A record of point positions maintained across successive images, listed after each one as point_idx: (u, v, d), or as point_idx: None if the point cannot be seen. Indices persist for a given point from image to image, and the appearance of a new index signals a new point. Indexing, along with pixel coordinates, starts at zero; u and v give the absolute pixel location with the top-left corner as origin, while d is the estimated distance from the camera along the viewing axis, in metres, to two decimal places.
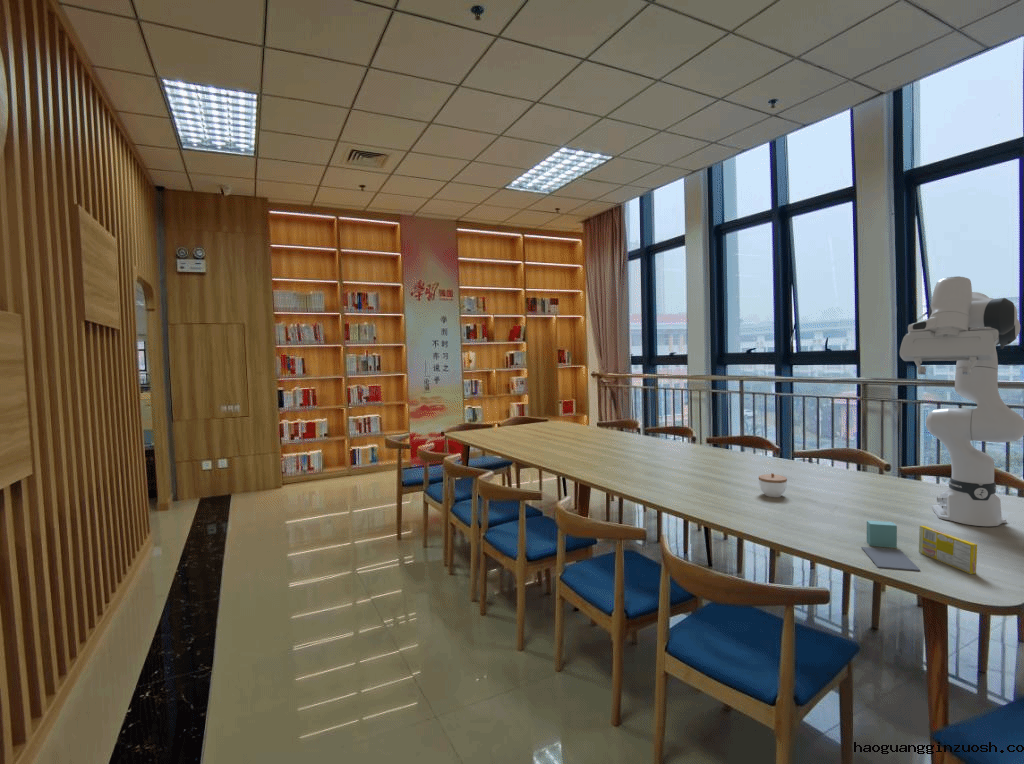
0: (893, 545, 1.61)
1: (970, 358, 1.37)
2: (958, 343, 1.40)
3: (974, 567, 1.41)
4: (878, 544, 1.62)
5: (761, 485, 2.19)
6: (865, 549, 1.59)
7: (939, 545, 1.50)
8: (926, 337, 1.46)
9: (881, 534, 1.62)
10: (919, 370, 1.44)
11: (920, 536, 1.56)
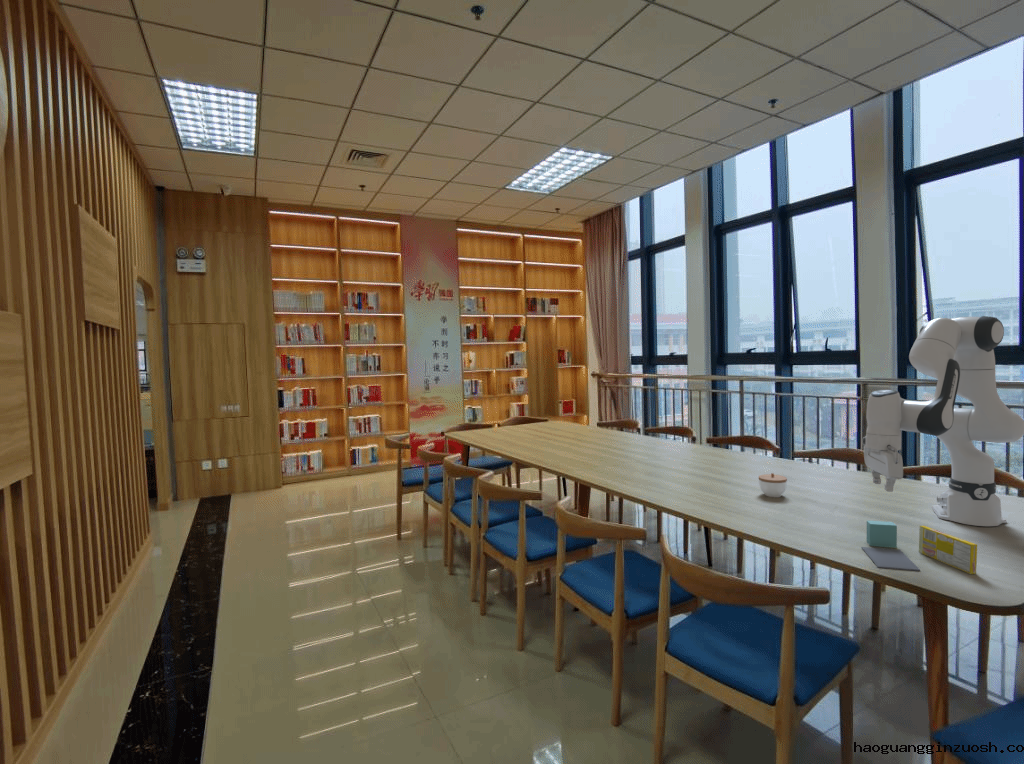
0: (893, 545, 1.61)
1: None
2: (879, 462, 1.59)
3: (974, 567, 1.41)
4: (878, 544, 1.62)
5: (761, 485, 2.19)
6: (865, 549, 1.59)
7: (939, 545, 1.50)
8: (871, 451, 1.65)
9: (881, 534, 1.62)
10: (873, 481, 1.66)
11: (920, 536, 1.56)
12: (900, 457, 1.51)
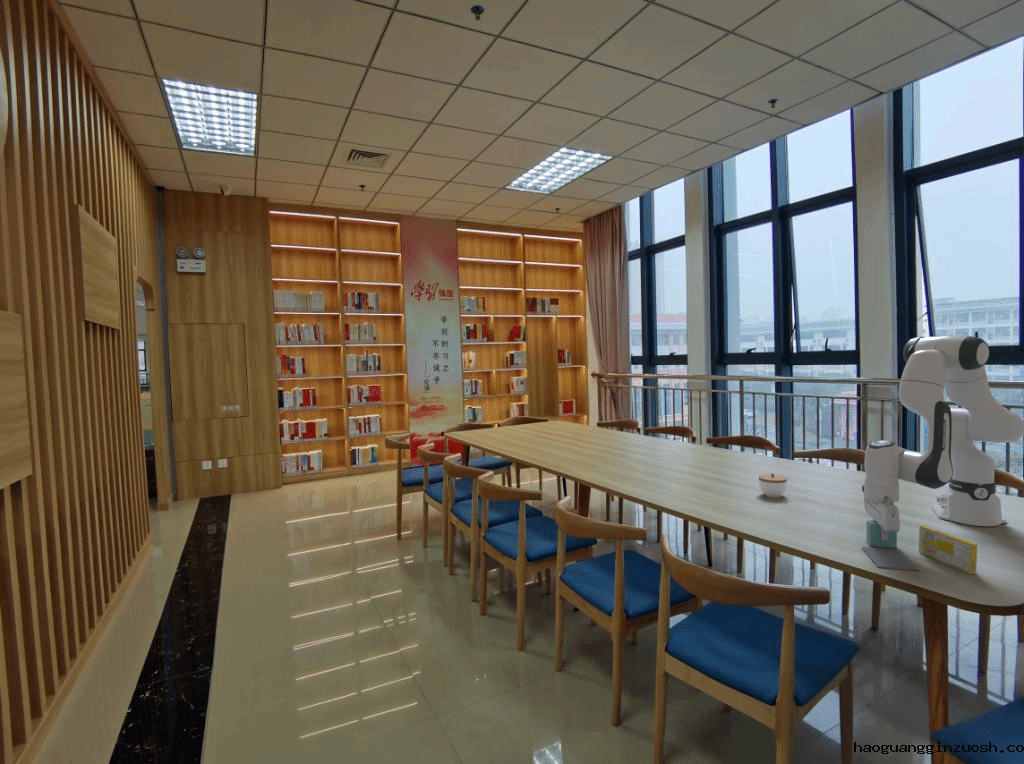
0: (893, 545, 1.61)
1: None
2: (877, 512, 1.61)
3: (974, 567, 1.41)
4: (878, 544, 1.62)
5: (761, 485, 2.19)
6: (865, 549, 1.59)
7: (939, 545, 1.50)
8: None
9: None
10: None
11: (920, 536, 1.56)
12: (897, 510, 1.53)
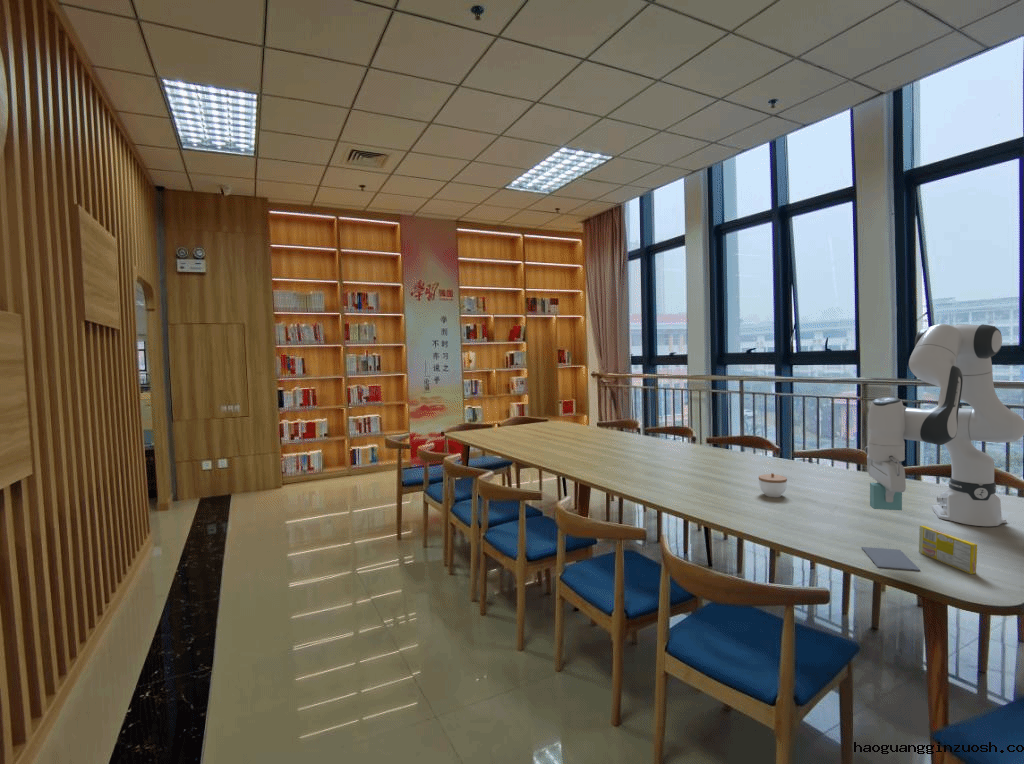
0: (898, 507, 1.52)
1: (885, 488, 1.51)
2: (881, 473, 1.52)
3: (974, 567, 1.41)
4: (882, 507, 1.53)
5: (761, 485, 2.19)
6: (865, 549, 1.59)
7: (939, 545, 1.50)
8: None
9: None
10: None
11: (920, 536, 1.56)
12: (902, 469, 1.45)
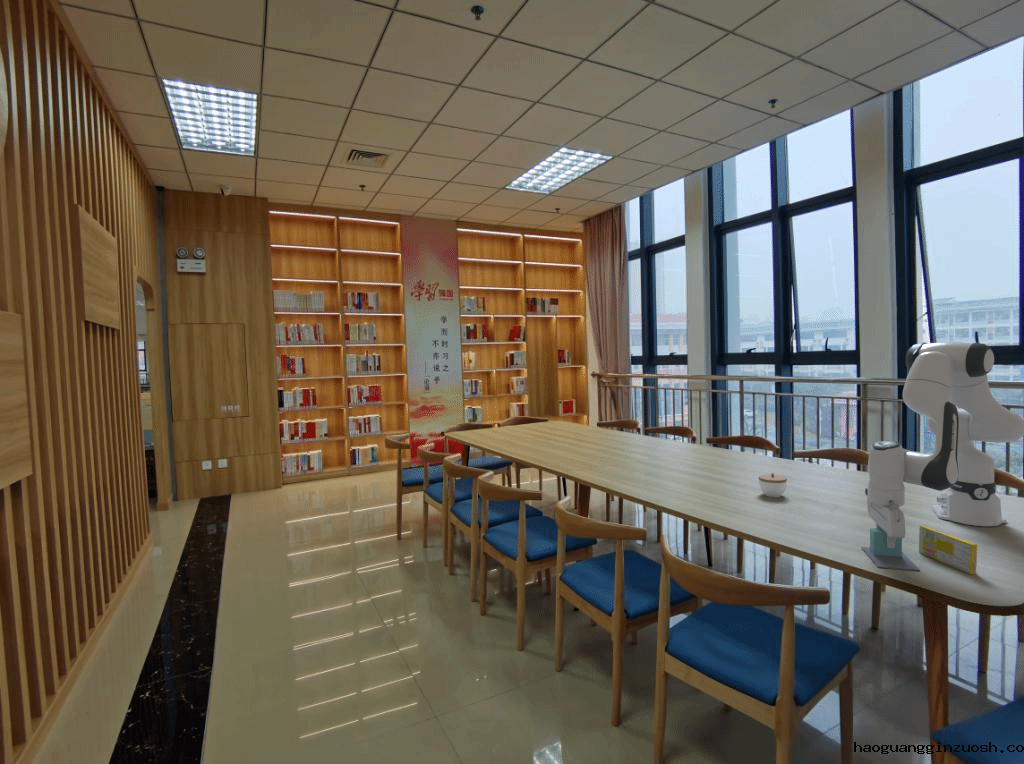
0: (898, 554, 1.53)
1: None
2: (881, 517, 1.53)
3: (974, 567, 1.41)
4: (882, 553, 1.54)
5: (761, 485, 2.19)
6: (865, 549, 1.59)
7: (939, 545, 1.50)
8: None
9: (885, 542, 1.54)
10: None
11: (920, 536, 1.56)
12: (902, 515, 1.45)
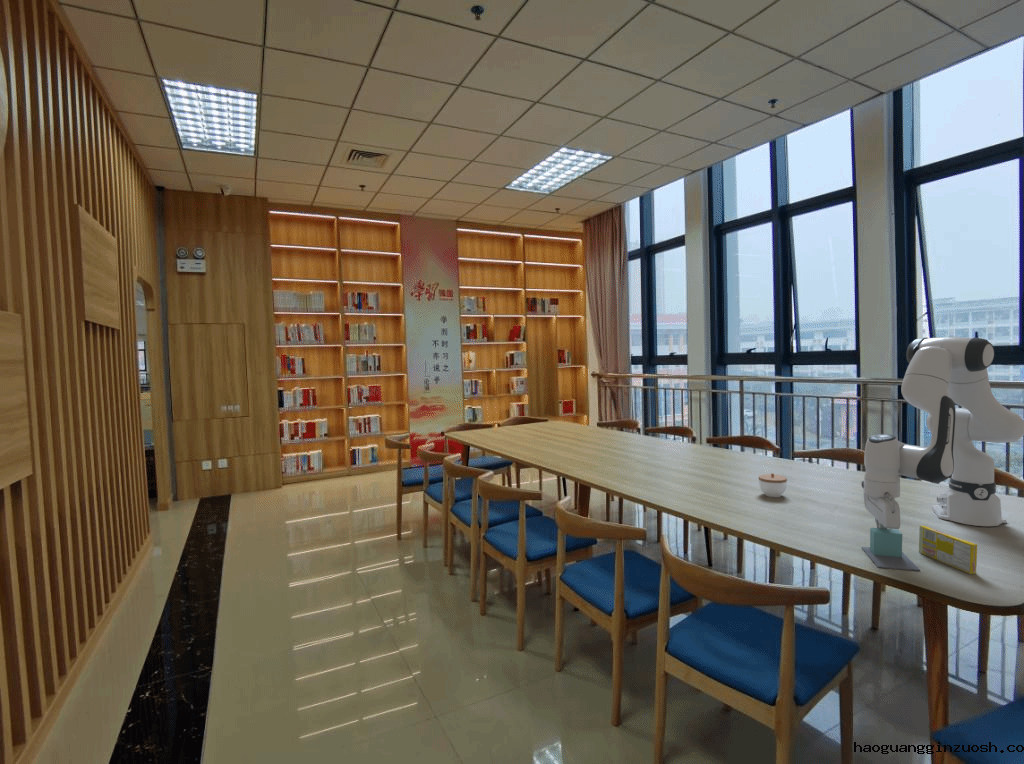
0: (898, 554, 1.53)
1: (878, 521, 1.57)
2: (877, 509, 1.55)
3: (974, 567, 1.41)
4: (882, 553, 1.54)
5: (761, 485, 2.19)
6: (865, 549, 1.59)
7: (939, 545, 1.50)
8: None
9: (885, 542, 1.53)
10: None
11: (920, 536, 1.56)
12: (897, 506, 1.48)
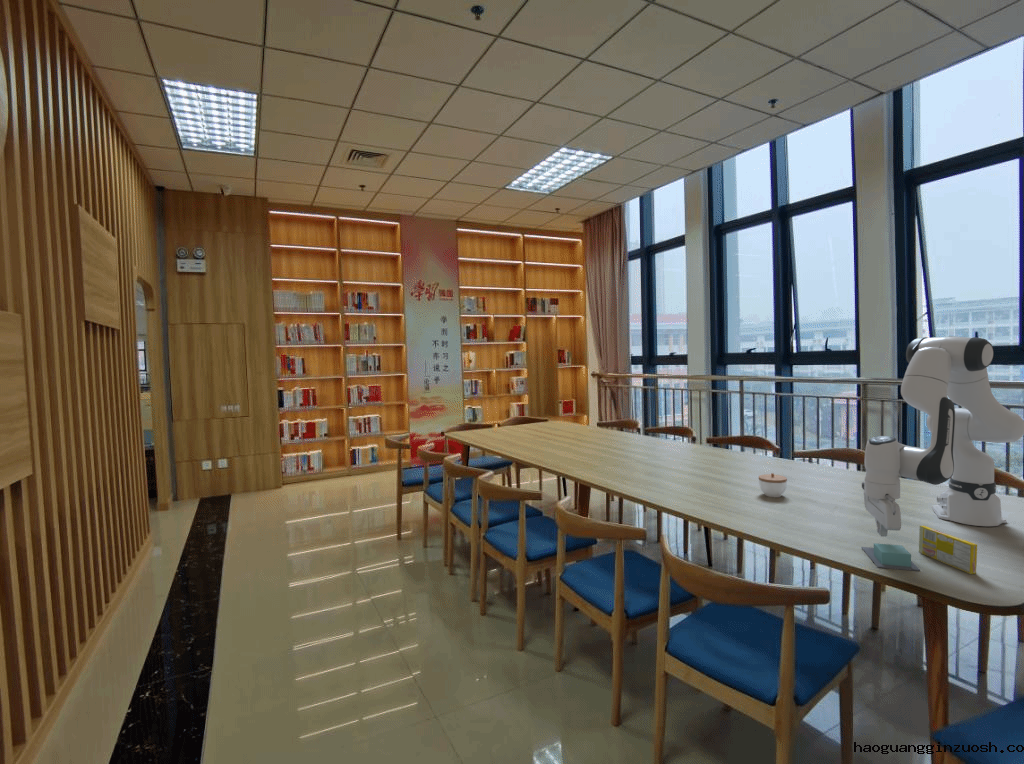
0: None
1: (879, 523, 1.58)
2: (878, 510, 1.56)
3: (974, 567, 1.41)
4: None
5: (761, 485, 2.19)
6: (865, 549, 1.59)
7: (939, 545, 1.50)
8: None
9: None
10: (877, 531, 1.60)
11: (920, 536, 1.56)
12: (898, 508, 1.49)
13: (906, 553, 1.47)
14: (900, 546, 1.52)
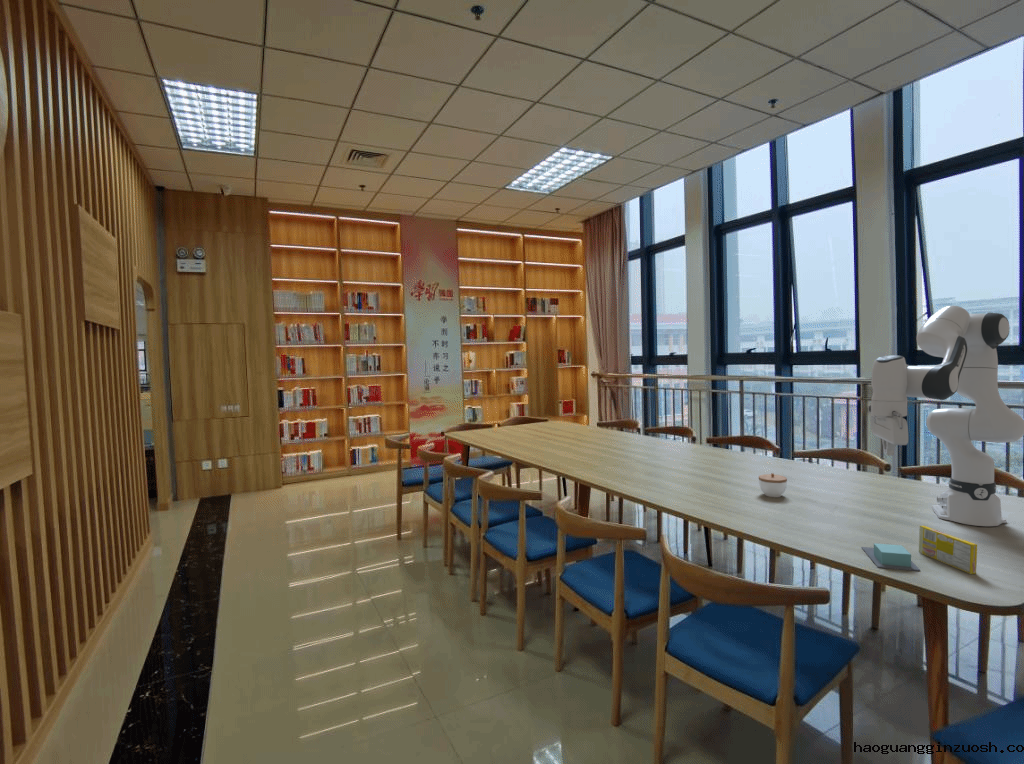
0: None
1: (886, 442, 1.57)
2: (885, 429, 1.56)
3: (974, 567, 1.41)
4: None
5: (761, 485, 2.19)
6: (865, 549, 1.59)
7: (939, 545, 1.50)
8: None
9: None
10: (884, 452, 1.60)
11: (920, 536, 1.56)
12: (905, 422, 1.49)
13: (906, 553, 1.47)
14: (900, 546, 1.52)
